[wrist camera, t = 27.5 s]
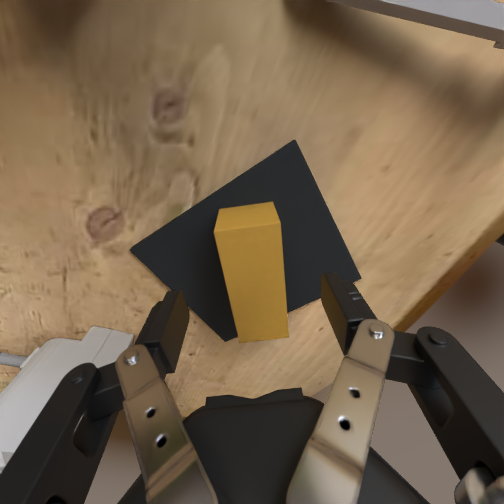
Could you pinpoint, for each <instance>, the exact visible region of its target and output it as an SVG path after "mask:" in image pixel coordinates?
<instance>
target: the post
mask: <svg viewBox="0 0 504 504" xmlns="http://www.w3.org/2000/svg"><path fill="white" fill-rule="evenodd" d="M214 236H215V240H216V244H217V248H218V253H219V257H220V261H221V265H222V270H223V274H224V278H225V283H226V287H227V291H228V295H229V300H230V304H231V308H232V312H233V317H234V321H235V325H236V330H237V334H238V338H239V342H240V343H245V342H254V341H262V340H271V339H279V338H287V337H289V331H288V317H287V304H286V290H285V276H284V262H283V248H282V235H281V222H280V220H279V217H278V214H277V212H276V209H275V206H274V204H273V202H267V203H260V204H252V205H245V206H238V207H231V208H223V209H219V213H218V217H217V221H216V224H215V228H214Z"/></svg>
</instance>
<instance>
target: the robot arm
mask: <svg viewBox="0 0 504 504" xmlns="http://www.w3.org/2000/svg"><path fill="white" fill-rule="evenodd" d="M321 300H322V305H323V307H324V310H325V312H326V314H327V317H328V319H329V321H330V324H331V326H332V328H333V331H334V333H335V336H336V338H337V340H338V343H339V345H340V347H341V350H342V352H343V354H344V356H345V357H344V358H343V360H342V363H341V365H340V367H339V370H338V372H337V375H336V377H335V380H334V382H333V385H332V387H331V390H330V392H329V395H328V397H327V400H326V402H325V404H324V403H322V402H321V401H319V400H317V399H314V398H312V397H309V396H304V395H303V393H302V388H292V389H282V390H276V391H274V392H271V393H268V394H266V395H263V396H261V397H258V398H255V399H250V398H245V397H239V396H234V395H222V396H212V397H206V404H205V406H203V407H201V408H199V409H197V410H195V411H194V412H192V413H191V414H190V415H189V416H188V417H186V418H185V419H183V417H182V415H181V413H180V411H179V409H178V407H177V405H176V403H175V401H174V399H173V397H172V395H171V393H170V391H169V389H168V387H167V385H166V383H165V381H164V380H165V376H166V374H168V373H175V369H176V366H177V362H178V358H179V355H180V351H181V348H182V344H183V341H184V337H185V333H186V330H187V326H188V323H189V317H190V314H189V309H188V306H187V303H186V300H185V297H184V295H183V292H182V291H181V290H176V291H168V292H167V293H166V295H165V297H164V299H163V301H159V302H158V303H157V304H156V305H155V306H154V307H153V308H152V309H151V312H150V314H149V317H148V318H147V320H146V323H145V324H144V326H143V328H142V330H141V332H140V334H139V336H138V338H137V340H136V342H135V344H134V345H133V346H131V347H129V348H127V349H126V350H124V351H123V352H122V353H121V354H120V355H119V356H118V358H117V360H116V361H115V362H113V363H110V364H107V365H105V366H102V367H99V368H97V367H96V366H95V364H93V363H90V362H88V363H83V364H80V365H78V366H76V367H75V368H73V369H72V370H70V371H69V372H68V373H67V374H66V375H65V376H64V377H63V379H62V380H61V381H60V383H59V385H58V386H57V388H56V389H55V391H54V392H53V394H52V395H51V397H50V398H49V400H48V401H47V403H46V404H45V406H44V408H43V409H42V411H41V412H40V414H39V415H38V417H37V418H36V420H35V421H34V423H33V424H32V426H31V427H30V429H29V431H28V432H27V434H26V435H25V437H24V438H23V440H22V441H21V443H20V444H19V446H18V447H17V449H16V450H15V452H14V453H13V455H12V457H11V458H10V460H9V461H8V463H7V464H6V466H5V467H4V469H3V470H2V472H1V473H0V504H84V502H85V499H86V497H87V494H88V492H89V489H90V486H91V484H92V481H93V479H94V476H95V473H96V471H97V468H98V465H99V463H100V460H101V458H102V455H103V452H104V450H105V447H106V444H107V442H108V439H109V436H110V434H111V431H112V429H113V426H114V423H115V421H116V418H117V415H118V413H119V411H120V410H122V409H124V411H125V415H126V419H127V423H128V426H129V430H130V433H131V437H132V441H133V444H134V448H135V451H136V455H137V458H138V462H139V466H140V469H141V474H140V476H139V477H138V478H137V479H136V481H135V482H134V483H133V484H132V486H131V487H130V488H129V490H128V491H127V492H126V493H125V495H124V496H123V497H122V498H121V500H120V501H119V502H118V503H117V504H430V503H429V502H428V501H427V500H426V499H424V498H423V496H422V495H420V494H419V493H418V492H417V491H416V490H415V489H414V488H413V487H412V486H411V485H410V484H409V483H408V482H407V481H406V480H405V479H404V478H403V477H402V476H401V475H399V473H398V472H397V471H396V470H394V469H393V468H392V467H391V466H390V465H389V464H388V463H387V462H386V461H385V460H384V459H383V458H382V457H381V456H380V455H379V454H378V453H377V452H376V451H375V450H374V449H373V448H372V447H370V443H371V439H372V434H373V430H374V426H375V421H376V417H377V413H378V408H379V404H380V399H381V395H382V391H383V386H384V382H385V379H389V380H393V381H398V382H402V383H407V385H408V387H409V388H410V390H411V392H412V394H413V396H414V397H415V399H416V401H417V403H418V405H419V407H420V408H421V410H422V412H423V414H424V416H425V417H426V419H427V421H428V423H429V425H430V426H431V428H432V430H433V432H434V434H435V435H436V437H437V439H438V441H439V443H440V444H441V446H442V448H443V450H444V452H445V454H446V455H447V457H448V459H449V461H450V463H451V465H452V466H453V468H454V470H455V472H456V474H457V475H458V477H459V479H460V482H459V483H458V485H457V486H456V488H455V492H454V497H455V503H456V504H504V393H503V392H502V390H501V389H500V388H499V387H498V386H497V385H496V384H495V382H494V381H493V380H492V379H491V378H490V377H489V376H488V375H487V373H486V372H485V371H484V370H483V369H482V368H481V367H480V366H479V365H478V363H477V362H476V361H475V360H474V359H473V358H472V357H471V355H470V354H469V353H468V352H467V351H466V350H465V349H464V347H463V346H462V345H461V344H460V343H459V342H458V341H457V340H456V339H455V338H454V337H453V336H452V335H451V334H449V333H448V332H446V331H444V330H442V329H439V328H435V327H422V328H420V329H419V330H418V331H417V334H410V333H404V332H398V331H394V330H393V329H392V328H391V327H390V326H389V325H388V324H386V323H385V322H383V321H380V320H378V319H377V318H376V316H375V315H374V313H373V312H372V310H371V309H370V307H369V306H368V304H367V303H366V301H365V300H364V299H363V297H362V295H361V294H360V293H359V291H358V289H357V288H356V286H355V285H354V284H352V283H351V282H349V281H348V280H342V281H341V279H340V277H339V276H338V274H337V273H336V272H331V273H323V274H322V275H321ZM82 415H83V416H82ZM81 417H82V418H81ZM80 419H81V420H80ZM79 421H80V422H79ZM78 423H79V424H78ZM77 425H78V426H77ZM76 427H77V428H76ZM75 429H76V430H75ZM74 431H75V432H74Z"/></svg>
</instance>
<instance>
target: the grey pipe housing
mask: <svg viewBox="0 0 504 504" xmlns="http://www.w3.org/2000/svg"><path fill="white" fill-rule="evenodd" d="M133 338H134V334H129V333H125V332H121V331H117V330H112V329H107V328H102V327H96V326H92V327H91V329H90V330H89V331H88V333H87V334H86V335H85V337H84V338H83V340H82V341H79V340H73V339H67V338H54V339H51V340H48V341H47V342H45V343H44V344H43V346H42V347H41V348H38V347H37V348H36V349H35V350H34V351H33V352H32V353H31V355H30V356H29V357H25V356H19V355H13V354H8V353H2V352H0V364H2V365H8V366H14V367H20V372H19V373H18V374H17V375H16V376H15V377H14V379H13V380H12V381H11V382H10V383H9V384H8V385H7V387H6V388H5V389H4V390H3V391H2V392H1V393H0V473H1V472H2V470H3V469H4V467H5V466H6V464H7V463H8V461H9V460H10V458H11V457H12V455H13V453H14V452H15V450H16V449H17V447H18V446H19V444H20V443H21V441H22V440H23V438H24V437H25V435H26V434H27V432H28V431H29V429H30V427H31V426H32V424H33V423H34V421H35V420H36V418H37V417H38V415H39V414H40V412H41V411H42V409H43V408H44V406H45V404H46V403H47V401H48V400H49V398H50V397H51V395H52V394H53V392H54V391H55V389H56V388H57V386H58V385H59V383H60V381H61V380H62V379H63V377H64V376H65V375H66V374H67V373H68V372H69V371H70V370H72V369H73V368H75V367H76V366H78V365H80V364H83V363H88V362H90V363H93V364H95V366H96V367H97V368H99V367H102V366H105V365H107V364H110V363H113V362H115V361H116V360H117V358H118V356H119V355H120V354H121V353H122V352H123V351H124V350H126V349H127V348H129V347H131V346H132V343H133ZM82 416H83V415H82ZM81 418H82V417H81ZM80 420H81V419H80ZM79 422H80V421H79ZM78 424H79V423H78ZM77 426H78V425H77ZM76 428H77V427H76ZM75 430H76V429H75ZM74 432H75V431H74Z"/></svg>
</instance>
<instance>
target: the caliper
mask: <svg viewBox="0 0 504 504" xmlns="http://www.w3.org/2000/svg"><path fill="white" fill-rule="evenodd" d="M324 1H328V2H333V3H337V4H341V5H345V6H350V7H354V8H358V9H362V10H367V11H371V12H375V13H379V14H383V15H388V16H392V17H396V18H400V19H405V20H409V21H413V22H417V23H421V24H426V25H430V26H434V27H438V28H442V29H446V30H450V31H454V32H459V33H463V34H467V35H471V36H475V37H479V38H483V39H488V40H492V41H496V43H495V44H494V46H493V47H494V48H498V49H504V3H500V2H495V1H491V0H324Z"/></svg>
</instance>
